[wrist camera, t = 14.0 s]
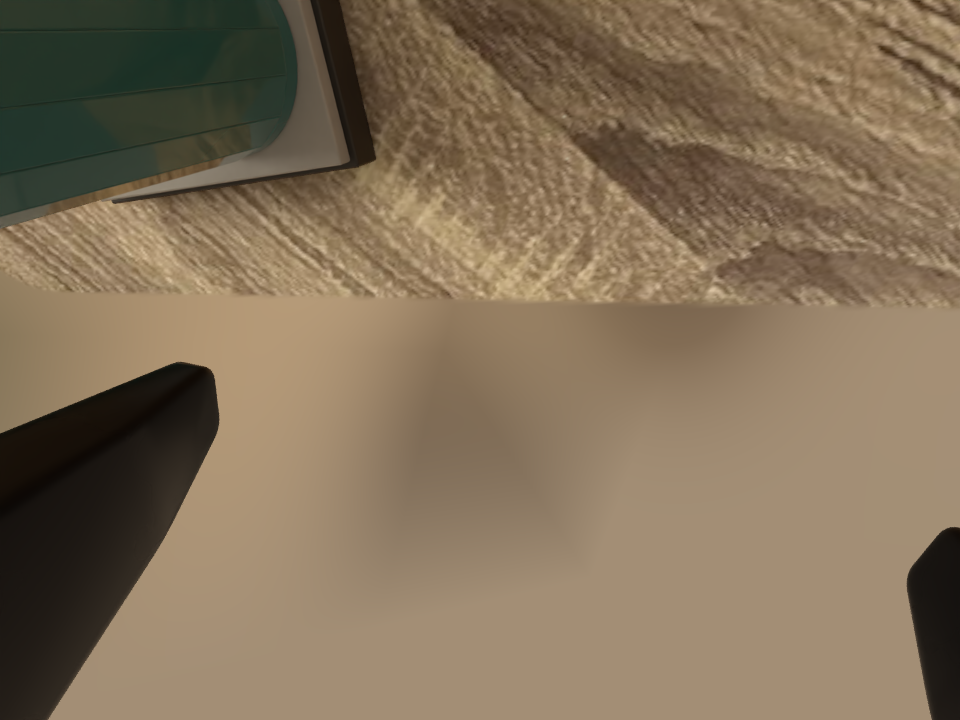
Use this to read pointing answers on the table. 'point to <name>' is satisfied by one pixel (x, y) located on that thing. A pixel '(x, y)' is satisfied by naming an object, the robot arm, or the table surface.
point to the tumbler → (134, 94)
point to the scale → (299, 113)
